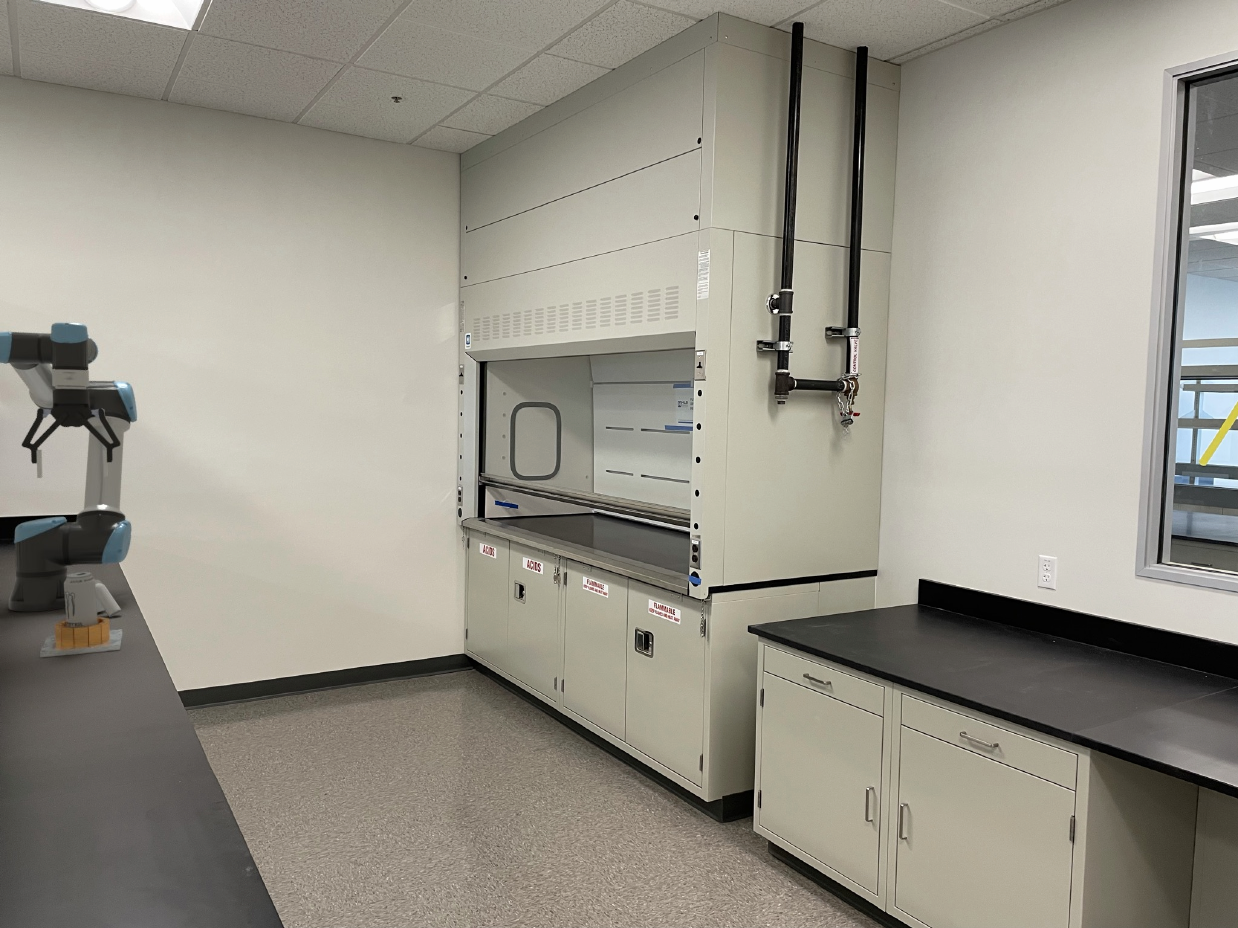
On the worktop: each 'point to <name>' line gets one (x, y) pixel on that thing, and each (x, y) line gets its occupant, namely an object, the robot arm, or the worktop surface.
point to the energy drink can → (80, 599)
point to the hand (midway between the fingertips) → (73, 476)
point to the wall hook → (105, 600)
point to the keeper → (82, 639)
